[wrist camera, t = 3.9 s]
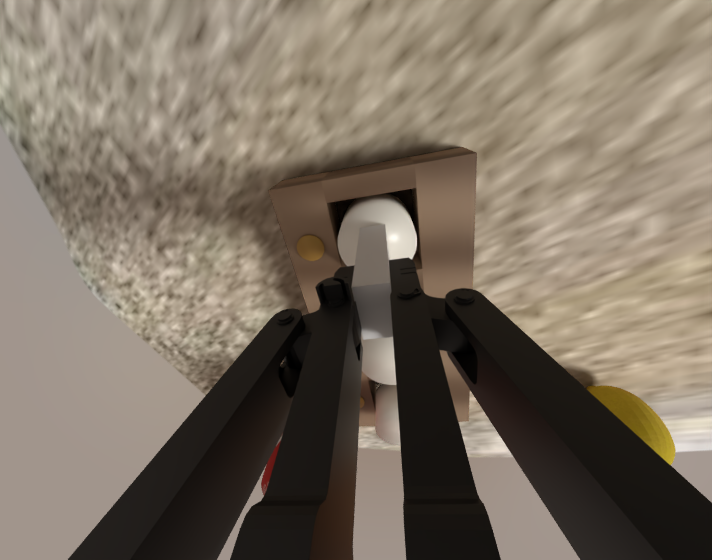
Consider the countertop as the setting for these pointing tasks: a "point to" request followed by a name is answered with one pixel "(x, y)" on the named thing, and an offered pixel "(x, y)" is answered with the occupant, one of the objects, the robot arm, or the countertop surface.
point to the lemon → (637, 418)
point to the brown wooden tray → (432, 226)
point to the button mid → (379, 360)
